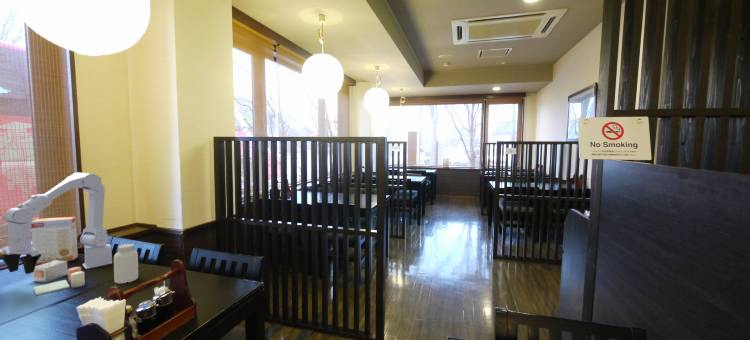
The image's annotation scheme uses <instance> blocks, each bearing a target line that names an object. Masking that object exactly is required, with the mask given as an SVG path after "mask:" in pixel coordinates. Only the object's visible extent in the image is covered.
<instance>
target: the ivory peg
mask: <svg viewBox="0 0 750 340" xmlns="http://www.w3.org/2000/svg"><path fill="white" fill-rule="evenodd" d="M85 278H86V277H85V271H83V270H81V271H80V272H75V273H72V274H71V282H70V287H71V288H79V287H83V286H84V285H85Z"/></svg>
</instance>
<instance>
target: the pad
mask: <svg viewBox="0 0 750 340" xmlns="http://www.w3.org/2000/svg"><path fill="white" fill-rule="evenodd" d="M70 287H71V285H70V284H69V282H68V281H67V280H66V279H63V280H59V281H54V282H50V283H49V282H48V283H45V284H42V285H37V286H33V291H34V293H35V296H36V297H37V296H41V295H45V294H46V295H47V294H49V293H53V292H58V291H62V290H66V289H69V288H70Z"/></svg>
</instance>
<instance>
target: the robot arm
mask: <svg viewBox="0 0 750 340" xmlns="http://www.w3.org/2000/svg"><path fill="white" fill-rule="evenodd" d="M72 189H82V190H84V191H85V192H87V193H88V202H87V203H88V204H87V205H88V206H87V219H86V222H87V223H86V227H85V228H84V229H82V234H81V236H80V238H79V241H80V243H81V244H82V245H83V249H84V263H82V266H83V267H84V268H85V269H86V270H87V269H92V268H98V267H102V266H108V265H112V264H113V254H112V253H113V252H112V251H113V250H112V245H111V244H110V243H108V242H109V235H108V231H107V229H106V228H105V227H104V225H103V224H104V223H103V222H104V212H105V211H104V210H105V209H104V207H105V206H104V205H105V194H106V193H105V191H106V190H105V189H106V188H105V186H104V185H103V182H102V177H101V176H99V175H98V174H96V173H91V172H90V173H87V172H86V173H85V172H74V173H72V174H71V175H70V176H67V177H66V178H65V179H64V180H62V181H61V182H60V183H58V184H57V185H55V186H54V187H52V188H51V189H50V190H48V191H47V192H45V193H43V194H41V193H38V194H33V195H30V198H29V199H27V200H26V201H24V202H23V203H19V204H17V207H11V208H9V209H7V210H6V211H5V213H4V214H3V215H2V219H3V220H4V221H5V222H6V223H7V236H8V237H7V238H8V247H4V248H3V247H2V249H1V251H2V255H0V259H1V260H2V261H3V262H4V264H5V265H6V268H7V269H8V272H9V273H14V272H17V271H18V270H19V267H20V265H19V262H20V261H21V263H22V266H23V269H24V273H25V274H26V275H28V274H33V272H34V269H35V266H37V265H36V263H37V261H38V259H39V258H40V257H41V254H39V250H36V249H34V248H33V246H32V230H31V222H32V221H33V219H34V218H35V215H37V214H38V213H40V212H41V211H43V210H44V209H46V208H47V207H49V206H50V205H52V201H53V200H54V199H56V198H57V197H60V196H61V195H63V194H64V193H66V192H68V191H70V190H72ZM22 255H23V256H22Z"/></svg>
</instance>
